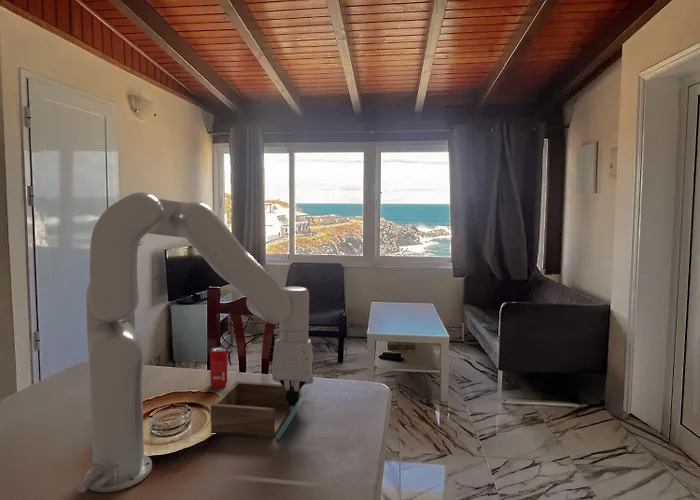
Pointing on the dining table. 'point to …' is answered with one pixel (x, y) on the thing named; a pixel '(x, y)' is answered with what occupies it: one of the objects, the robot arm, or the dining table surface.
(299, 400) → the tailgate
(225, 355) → the beverage can
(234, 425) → the crate
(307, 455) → the dining table surface
